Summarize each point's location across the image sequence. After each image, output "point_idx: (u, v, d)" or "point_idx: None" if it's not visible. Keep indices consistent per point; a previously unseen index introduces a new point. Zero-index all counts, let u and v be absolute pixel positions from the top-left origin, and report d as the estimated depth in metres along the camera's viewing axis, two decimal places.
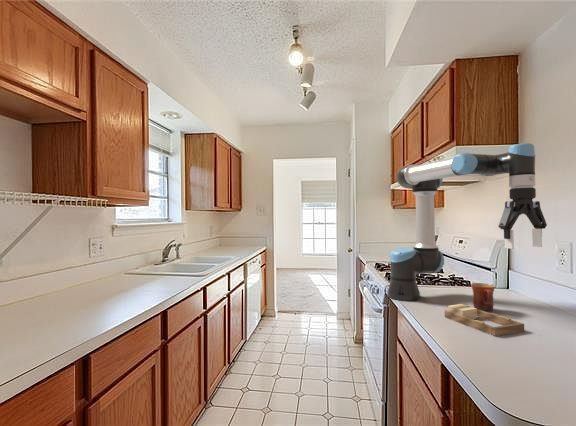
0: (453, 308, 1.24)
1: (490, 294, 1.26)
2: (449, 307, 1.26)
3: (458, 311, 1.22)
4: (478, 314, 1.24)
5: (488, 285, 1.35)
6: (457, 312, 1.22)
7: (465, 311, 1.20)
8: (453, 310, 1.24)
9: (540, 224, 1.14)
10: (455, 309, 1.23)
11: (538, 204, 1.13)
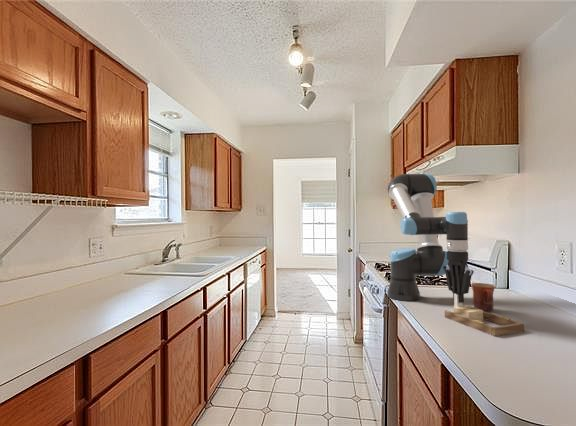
0: (459, 310, 1.21)
1: (490, 294, 1.26)
2: (454, 309, 1.23)
3: (464, 313, 1.19)
4: None
5: (488, 285, 1.35)
6: (463, 314, 1.20)
7: (471, 313, 1.18)
8: (459, 312, 1.21)
9: (458, 289, 1.24)
10: (461, 311, 1.20)
11: (466, 272, 1.21)
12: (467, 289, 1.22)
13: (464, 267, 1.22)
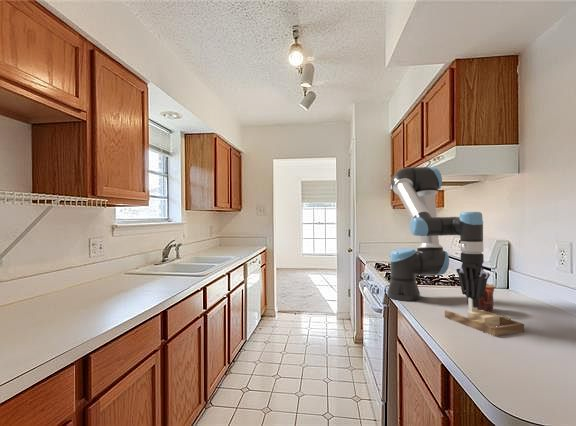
0: (473, 315, 1.15)
1: (490, 294, 1.26)
2: (469, 313, 1.17)
3: (480, 318, 1.13)
4: None
5: (488, 285, 1.35)
6: (478, 319, 1.13)
7: (487, 318, 1.11)
8: (473, 317, 1.15)
9: (473, 293, 1.18)
10: (476, 316, 1.14)
11: (482, 276, 1.14)
12: (482, 293, 1.16)
13: (479, 270, 1.16)
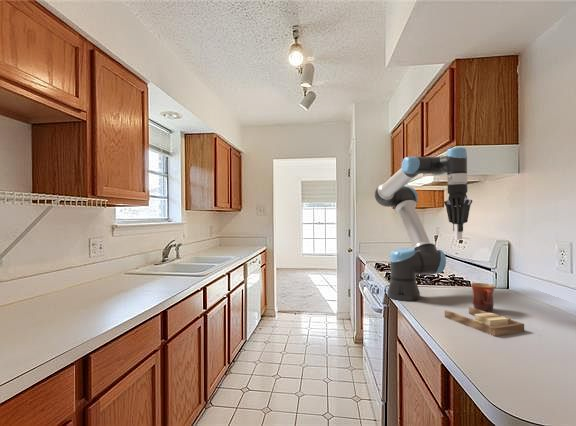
0: (480, 317, 1.13)
1: (490, 294, 1.26)
2: (476, 316, 1.15)
3: (486, 321, 1.10)
4: None
5: (488, 285, 1.35)
6: (484, 322, 1.11)
7: (493, 321, 1.09)
8: (480, 319, 1.13)
9: (458, 219, 1.34)
10: (482, 318, 1.12)
11: (465, 202, 1.30)
12: (466, 218, 1.32)
13: (463, 197, 1.32)
